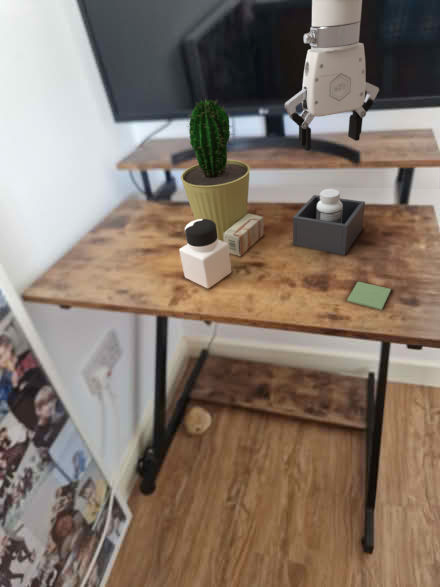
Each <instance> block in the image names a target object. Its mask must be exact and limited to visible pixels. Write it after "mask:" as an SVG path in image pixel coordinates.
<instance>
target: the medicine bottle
mask: <svg viewBox="0 0 440 587" xmlns="http://www.w3.org/2000/svg"><path fill="white" fill-rule="evenodd" d="M184 234H185V240H186V243H187V244H185V245H183V246H182V247H180V248H179V250H178V252H179V258H180V261H181V266H182V270H183V275H184V278H185V279H187V280H189V281H191V282H193V283H195V284H197V285H199V286H200V287H201V286H202V287H204V288H205V289H211V288H212V287H214V286H215V285H216V284H217V283H219V282H221V280H223V279H224V278H226V277H227V276H228V275H230V274H231V273H232V264H231V258H230V257H231V256H230V253H229V247H228V243H226V242H223V241H220V240H218V236H217V229H216V224H215V223H214V222H213V221H212V220H209V219H198V220H195V219H194V220H192V221H190V222H188V223H187V224H186V226H185V227H184Z"/></svg>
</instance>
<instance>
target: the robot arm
mask: <svg viewBox="0 0 440 587" xmlns="http://www.w3.org/2000/svg"><path fill="white" fill-rule="evenodd" d="M362 6H363V0H311V27H310V31H309V32H308V33H304V34H303V43H304V44H309V46H310V49H308V50H307V53H306V58H305V63H304V69H303V77H302V88H301V90H300V91H299V92H298V93H296V94H295V95H293V96H292V97H291V98H290V99H288V100H287V101H286V102H284V104H283V105H284V108H285V110H286V112H287V114H288V116H289V119H291V120H292V122H294V123H295V124H296V125H297V126H298V144H299V146H300V147H301V148H302V149H304V150H305V151H310V150H312V129H311V127H310V124H311V123H312V121H313V120H314V119H315V117H326V116H331V115H335V114H336V115H337V114H342V113H347V112H351V113H352V114H350V115H349V118H348V119H349V120H348V134H347V136H348V138H350V139H352V140H353V141H355V142H357V141H360V137H361V134H362V130H363V129H362V128H363V120H364V118H365V117H366V116H367V112H368V111H369V110H370V108H372V106H373V105H374V100H375V99H376V98H377V95H378V93H379V92H380V88H379V87H378V86H376V85H375V84H372V83H369V82H367V81H366V78H367V76H366V55H365V54H366V53H365V46H364V43H363V42H360V31H361V19H362V8H363V7H362ZM300 104H301V107H302V111H301V113H300V114H299V113H298V111H297V109H296V108H297V107H298V106H299V105H300Z"/></svg>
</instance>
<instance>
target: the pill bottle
mask: <svg viewBox="0 0 440 587" xmlns="http://www.w3.org/2000/svg"><path fill="white" fill-rule="evenodd" d="M319 196H320V201H319V202H318V203H317V207H316V219H317V220H323V221H329V222H336V223H342V208H343V205H342V202H341V201H340V200H339V199H340V198H341V191H340V190H338V189H335V188H326V189H323V190H321V191H320V193H319Z"/></svg>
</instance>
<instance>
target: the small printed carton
mask: <svg viewBox="0 0 440 587" xmlns="http://www.w3.org/2000/svg"><path fill="white" fill-rule="evenodd" d="M264 230H265V229H264V216H261V215H257V214H252V213H248V212H247V214H246V215H245V216H244V217H243V218H241V219H240V220H239V221H238V222H237V223H235V224H234V225H233V226H232V227H230V228H229V229H228V230H227V231H225V232H224V233H223V234H224V242H226V243H228V247H229V255H230V254H231V255H234V256H238V257H242V256H243V254H245V253H246V252H247V251H248V250H249V249H250V248H252V246H254V245H255V244H256V242H258V241H259V240H260V239H261V238H262V237H263V236H264Z"/></svg>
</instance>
